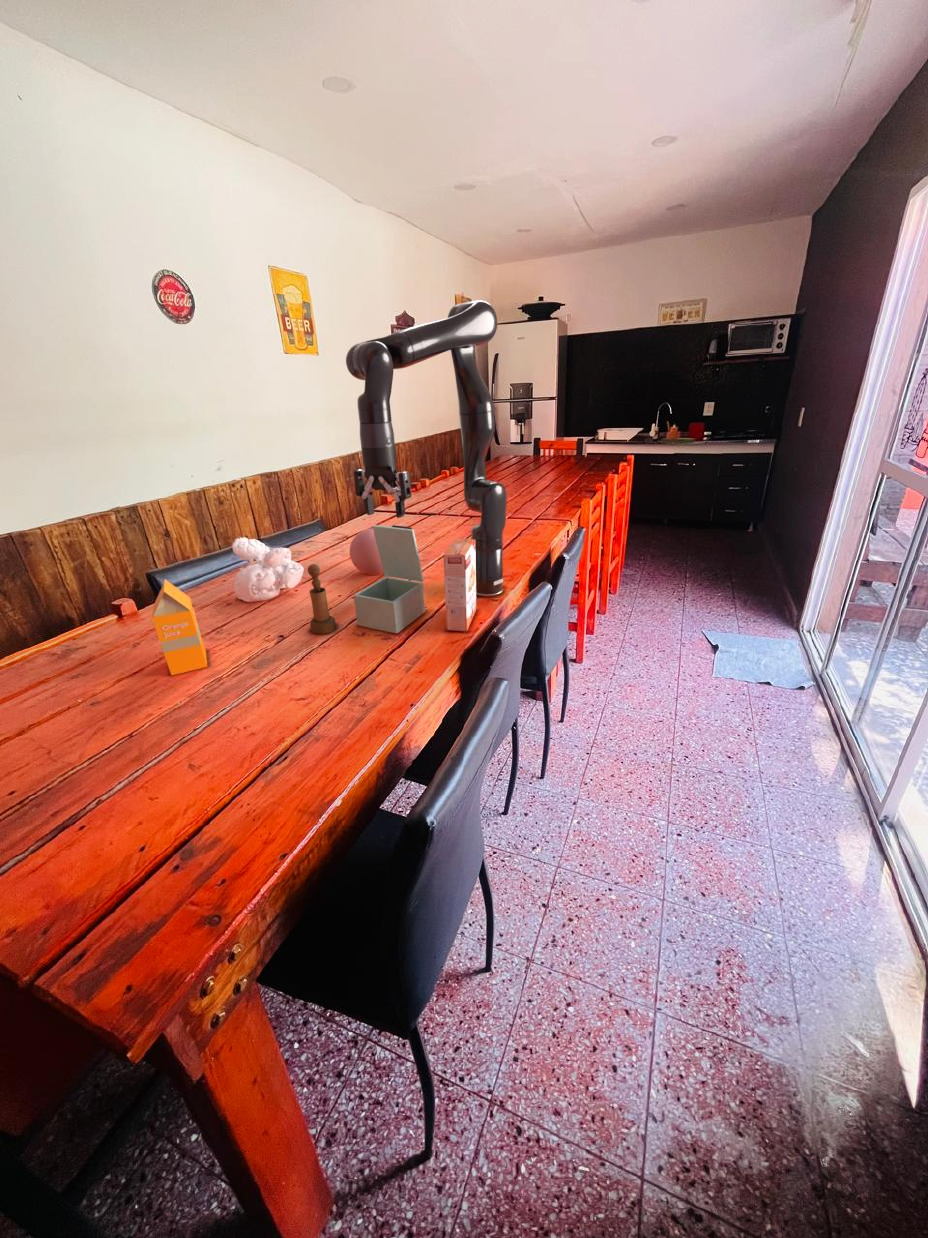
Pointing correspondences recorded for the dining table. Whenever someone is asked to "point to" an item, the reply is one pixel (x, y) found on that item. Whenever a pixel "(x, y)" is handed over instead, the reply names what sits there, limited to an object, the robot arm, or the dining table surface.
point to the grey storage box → (390, 604)
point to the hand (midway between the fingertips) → (385, 515)
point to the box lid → (398, 552)
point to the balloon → (366, 553)
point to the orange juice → (178, 630)
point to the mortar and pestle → (319, 605)
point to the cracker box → (460, 584)
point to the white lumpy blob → (264, 570)
